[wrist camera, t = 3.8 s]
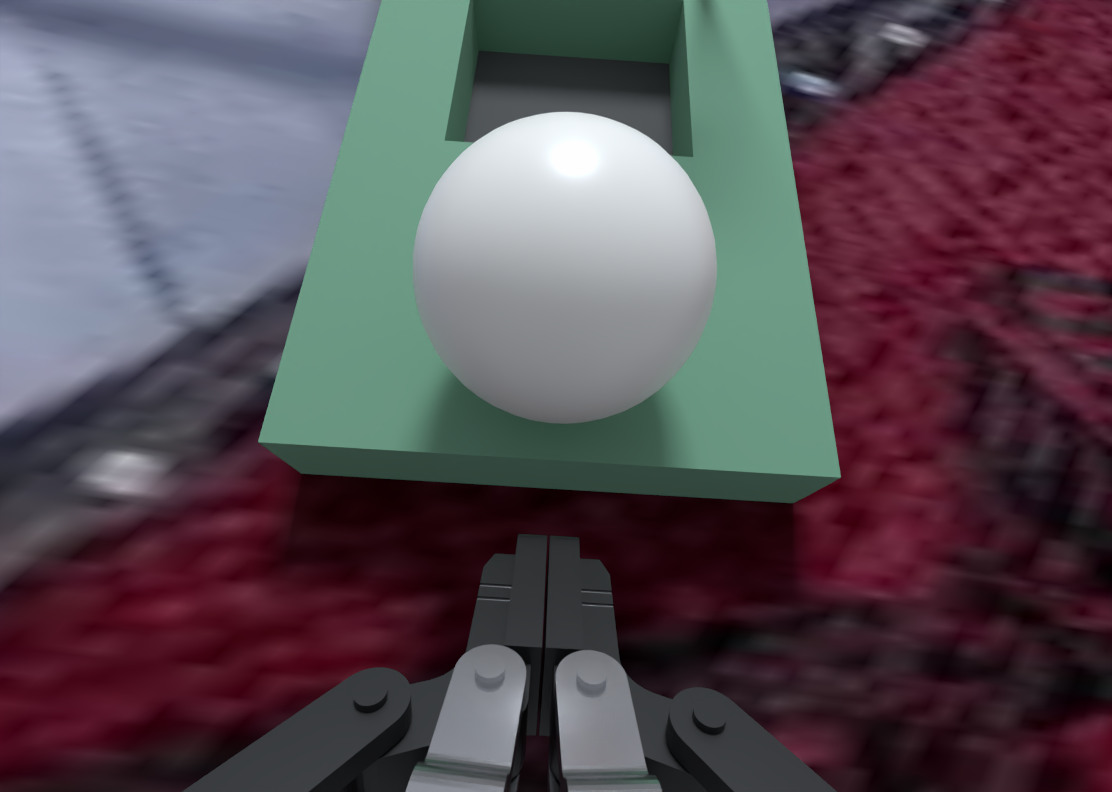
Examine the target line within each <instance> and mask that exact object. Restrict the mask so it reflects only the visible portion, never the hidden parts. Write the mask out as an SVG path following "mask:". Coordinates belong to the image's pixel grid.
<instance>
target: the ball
mask: <svg viewBox="0 0 1112 792" xmlns="http://www.w3.org/2000/svg"><path fill="white" fill-rule="evenodd" d="M716 279H717V257H716V247H715V238H714V234H713V230H712V227H711V223H710V220H709V216H708V213H707V210H706V208H705V205H704V203H703V201H702V198H701V196H700V195H699V193H698V191H697V190H696V188H695V186H694V185H693V183H692V181H691V180H690V178H689V176H688V175H687V173H686V172H685V171H684V170H683V169H682V167H681V166H680V165H679V164H678V162H677V161H675V160H674V159H673V158H672V157H671V156H670V155H669V154H668V153H667V152H666V151H665V150H664V149H663V148H662V147H661V146H660V145H658V144H657V143H656V142H655V141H653V140H652V139H651V138H649V137H648V136H646V135H644V134H643V133H641V132H639V131H638V130H636V129H634V128H631V127H629V126H627V125H625V124H623V123H620V122H617V121H615V120H612V119H609V118H606V117H602V116H598V115H594V114H587V113H580V112H551V113H544V114H538V115H533V116H529V117H525V118H521V119H518V120H515V121H512V122H510V123H507V124H505V125H503V126H501V127H498V128H496V129H494V130H493V131H491V132H490V133H488V134H486V135H485V136H483V137H482V138H480V139H479V140H477V141H476V142H474V143H473V144H472V145H471V146H469V147H468V148H467V149H466V150H465V151H463V152H462V153H461V154H460V155H459V156H458V157H457V159H456V160H455V161H454V162H453V163H452V164H451V165H450V166H449V168H448V169H447V170H446V171H445V172H444V174H443V175H442V177H441V178H440V179H439V181H438V182H437V184H436V185H435V187H434V189H433V191H432V193H431V195H430V197H429V199H428V201H427V203H426V205H425V207H424V209H423V212H422V215H421V218H420V221H419V224H418V229H417V233H416V237H415V243H414V250H413V287H414V293H415V299H416V304H417V308H418V312H419V315H420V318H421V321H422V324H423V327H424V329H425V331H426V333H427V335H428V337H429V339H430V341H431V343H432V345H433V347H434V349H435V351H436V353H437V354H438V355H439V357H440V358H441V360H442V361H443V362H444V364H445V365H446V367H447V368H448V369H449V370H450V371H451V372H452V373H453V374H454V375H455V376H456V377H457V378H458V379H459V381H460V382H461V383H462V384H463V385H464V386H465V387H467V388H468V389H469V390H471V391H472V392H473V393H474V394H476V395H477V396H478V397H480V398H481V399H483V400H485V401H486V402H488V403H490V404H491V405H493V406H495V407H497V408H499V409H502V410H504V411H506V412H508V413H511V414H513V415H516V416H519V417H522V418H526V419H529V420H533V421H540V422H546V423H559V424H571V423H583V422H589V421H594V420H598V419H603V418H606V417H609V416H612V415H615V414H618V413H621V412H624V411H626V410H628V409H630V408H632V407H634V406H636V405H638V404H640V403H641V402H643V401H644V400H646V399H647V398H648V397H650V396H651V395H653V394H654V393H656V392H657V391H658V390H659V389H661V388H662V387H663V386H664V385H665V384H666V383H667V382H668V381H669V380H671V379H672V378H673V377H674V376H675V375H676V373H677V372H678V371H679V370H680V368H681V367H682V366H683V365H684V364H685V362H686V361H687V359H688V358H689V357H690V355H691V354H692V352H693V350H694V349H695V347H696V345H697V344H698V342H699V340H700V338H701V336H702V333H703V331H704V328H705V326H706V323H707V321H708V318H709V316H710V313H711V309H712V304H713V300H714V295H715V289H716Z"/></svg>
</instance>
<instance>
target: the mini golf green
mask: <svg viewBox="0 0 1112 792" xmlns="http://www.w3.org/2000/svg"><path fill="white" fill-rule="evenodd" d="M551 112H580V113H587V114H594V115H598V116H602V117H606V118H609V119H612V120H615V121H617V122H620V123H623V124H625V125H627V126H629V127H631V128H634V129H636V130H638V131H639V132H641V133H643V134H644V135H646V136H648V137H649V138H651V139H652V140H653V141H655V142H656V143H657V144H658V145H660V146H661V147H662V148H663V149H664V150H665V151H666V152H667V153H668V154H669V155H670V156H671V157H672V158H673V159H674V160H675V161H677V162H678V164H679V165H680V166H681V167H682V169H683V170H684V171H685V172H686V173H687V175H688V176H689V178H690V180H691V181H692V183H693V185H694V186H695V188H696V190H697V191H698V193H699V195H700V196H701V198H702V201H703V203H704V205H705V208H706V210H707V213H708V216H709V220H710V223H711V227H712V230H713V234H714V238H715V247H716V257H717V279H716V289H715V295H714V300H713V304H712V309H711V313H710V316H709V318H708V321H707V323H706V326H705V328H704V331H703V333H702V336H701V338H700V340H699V342H698V344H697V345H696V347H695V349H694V350H693V352H692V354H691V355H690V357H689V358H688V359H687V361H686V362H685V364H684V365H683V366H682V367H681V368H680V370H679V371H678V372H677V373H676V375H675V376H674V377H673V378H672V379H671V380H669V381H668V382H667V383H666V384H665V385H664V386H663V387H662V388H661V389H659V390H658V391H657V392H656V393H654V394H653V395H651V396H650V397H648V398H647V399H646V400H644V401H643V402H641V403H640V404H638V405H636V406H634V407H632V408H630V409H628V410H626V411H624V412H621V413H618V414H615V415H612V416H609V417H606V418H603V419H598V420H594V421H589V422H583V423H571V424H559V423H546V422H540V421H533V420H529V419H526V418H522V417H519V416H516V415H513V414H511V413H508V412H506V411H504V410H502V409H499V408H497V407H495V406H493V405H491V404H490V403H488V402H486V401H485V400H483V399H481V398H480V397H478V396H477V395H476V394H474V393H473V392H472V391H471V390H469V389H468V388H467V387H465V386H464V385H463V384H462V383H461V382H460V381H459V379H458V378H457V377H456V376H455V375H454V374H453V373H452V372H451V371H450V370H449V369H448V368H447V367H446V365H445V364H444V362H443V361H442V360H441V358H440V357H439V355H438V354H437V353H436V351H435V349H434V347H433V345H432V343H431V341H430V339H429V337H428V335H427V333H426V331H425V329H424V327H423V324H422V321H421V318H420V315H419V312H418V308H417V304H416V299H415V293H414V287H413V250H414V243H415V237H416V233H417V229H418V224H419V221H420V218H421V215H422V212H423V209H424V207H425V205H426V203H427V201H428V199H429V197H430V195H431V193H432V191H433V189H434V187H435V185H436V184H437V182H438V181H439V179H440V178H441V177H442V175H443V174H444V172H445V171H446V170H447V169H448V168H449V166H450V165H451V164H452V163H453V162H454V161H455V160H456V159H457V157H458V156H459V155H460V154H461V153H462V152H463V151H465V150H466V149H467V148H468V147H469V146H471V145H472V144H473V143H474V142H476V141H477V140H479V139H480V138H482V137H483V136H485V135H486V134H488V133H490V132H491V131H493V130H494V129H496V128H498V127H501V126H503V125H505V124H507V123H510V122H512V121H515V120H518V119H521V118H525V117H529V116H533V115H538V114H544V113H551ZM258 443H260V444H261V445H263V446H264V447H265V448H267V449H268V450H269V451H271V452H272V453H274V454H275V455H276V456H278V457H279V458H280V459H282V460H283V461H285V462H286V463H287V464H289V465H290V466H291V467H293V468H294V469H296V470H297V471H298V472H300V473H301V474H316V475H333V476H349V477H366V478H382V479H399V480H415V481H432V482H449V483H465V484H482V485H498V486H515V487H531V488H548V489H565V490H581V491H598V492H614V493H631V494H647V495H664V496H681V497H697V498H714V499H730V500H747V501H763V502H780V503H795V502H797V501H799V500H801V499H802V498H804V497H806V496H808V495H810V494H812V493H813V492H815V491H817V490H819V489H821V488H823V487H825V486H826V485H828V484H830V483H832V482H834V481H836V480H837V479H839V478H841V475H840V469H839V462H838V456H837V449H836V443H835V436H834V430H833V424H832V417H831V411H830V404H829V398H828V391H827V385H826V378H825V372H824V365H823V359H822V353H821V346H820V340H819V333H818V327H817V320H816V314H815V307H814V301H813V295H812V288H811V282H810V275H809V269H808V262H807V256H806V249H805V243H804V236H803V230H802V224H801V217H800V211H799V204H798V198H797V191H796V185H795V178H794V172H793V165H792V159H791V153H790V146H789V140H788V133H787V127H786V120H785V114H784V107H783V101H782V94H781V88H780V82H779V75H778V69H777V62H776V56H775V49H774V43H773V36H772V30H771V24H770V17H769V11H768V4H767V0H382V1H381V5H380V8H379V12H378V15H377V19H376V23H375V26H374V30H373V33H372V37H371V40H370V44H369V48H368V51H367V55H366V58H365V62H364V65H363V69H362V73H361V76H360V80H359V83H358V87H357V90H356V94H355V98H354V101H353V105H352V108H351V112H350V115H349V119H348V123H347V126H346V130H345V133H344V137H343V140H342V144H341V148H340V151H339V155H338V158H337V162H336V165H335V169H334V173H333V176H332V180H331V183H330V187H329V190H328V194H327V198H326V201H325V205H324V208H323V212H322V215H321V219H320V223H319V226H318V230H317V233H316V237H315V240H314V244H313V248H312V251H311V255H310V258H309V262H308V265H307V269H306V273H305V276H304V280H303V283H302V287H301V290H300V294H299V298H298V301H297V305H296V308H295V312H294V315H293V319H292V323H291V326H290V330H289V333H288V337H287V340H286V344H285V348H284V351H283V355H282V358H281V362H280V365H279V369H278V373H277V376H276V380H275V383H274V387H273V390H272V394H271V398H270V401H269V405H268V408H267V412H266V415H265V419H264V423H263V426H262V430H261V433H260V437H259V440H258Z"/></svg>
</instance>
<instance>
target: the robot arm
mask: <svg viewBox="0 0 1112 792" xmlns="http://www.w3.org/2000/svg"><path fill="white" fill-rule="evenodd" d="M546 553H547V535H531V534H518V539H517V547H516V554H515V555H512V554H494V555H493V556H492V558H491V559H490V560H489V561H488V562H487V563H486V565H485V566H484V567H483V572H482V577H481V582H480V587H479V591H478V597H477V601H476V606H475V611H474V616H473V620H472V625H471V630H470V635H469V640H468V645H467V649H466V652H465V654H464V655H463V656H462V657H461V658H460V659H459V660H458V662H457V663H456V666H455V668H453V669H452V670H451V671H449V672H448V673H446V674H444V675H442V676H440V677H438V678H435V679H431V680H427V681H423V682H419V683H414V684H410V685H409V682H408V681H407V679H406V678H405V677H404V676H403V675H402V674H401V673H399V672H398V671H395V670H393V669H389V668H382V667H379V668H370V669H366V670H363V671H360V672H358V673H356V674H354V675H352V676H350V677H349V678H347V679H346V680H344V681H343V682H341V683H340V684H339V685H337V686H336V687H334V688H333V689H331V690H330V691H328V692H327V693H325V694H324V695H322V696H321V697H320V698H318V699H317V700H315V701H314V702H312V703H311V704H309V705H308V706H306V707H305V708H304V709H302V710H301V711H299V712H298V713H296V714H295V715H293V716H292V717H290V718H289V719H287V720H286V721H285V722H283V723H282V724H280V725H279V726H277V727H276V728H274V729H273V730H271V731H270V732H269V733H267V734H266V735H264V736H263V737H261V738H260V739H258V740H257V741H255V742H254V743H252V744H251V745H250V746H248V747H247V748H245V749H244V750H242V751H241V752H239V753H238V754H236V755H235V756H234V757H232V758H231V759H229V760H228V761H226V762H225V763H223V764H222V765H220V766H219V767H217V768H216V769H215V770H213V771H212V772H210V773H209V774H207V775H206V776H204V777H203V778H201V779H200V780H199V781H197V782H196V783H194V784H193V785H191V786H190V787H188V788H187V789H185V790H184V791H182V792H518V788H519V782H520V773H521V768H522V766H523V763H524V758H525V748H526V735H535V736H536V726H537V712H538V698H539V683H540V669H541V655H542V637H543V616H544V595H545V574H546ZM539 736H549V760H548V772H547V784H548V792H837V791H836V790H834V789H833V788H832V787H831V786H830V785H829V784H828V783H826V782H825V781H824V780H823V779H822V778H821V777H819V776H818V775H817V774H816V773H815V772H814V771H812V770H811V769H810V768H809V767H808V766H807V765H806V764H804V763H803V762H802V761H801V760H800V759H799V758H797V757H796V756H795V755H794V754H793V753H792V752H790V751H789V750H788V749H787V748H786V747H785V746H784V745H782V744H781V743H780V742H779V741H778V740H777V739H775V738H774V737H773V736H772V735H771V734H770V733H768V732H767V731H766V730H765V729H764V728H763V727H762V726H760V725H759V724H758V723H757V722H756V721H755V720H753V719H752V718H751V717H750V716H749V715H748V714H746V713H745V712H744V711H743V710H742V709H741V708H740V707H738V706H737V705H736V704H735V703H734V702H733V701H731V700H730V699H729V698H727V697H726V696H724V695H723V694H721V693H719V692H716V691H714V690H711V689H708V688H701V687H694V688H688V689H685V690H683V691H681V692H679V693H678V694H677V695H676V696H675V697H674V698H673V700H672V699H669V698H666V697H664V696H661V695H658V694H655V693H652V692H650V691H648V690H646V689H644V688H642V687H640V686H639V685H638V684H636V683H635V682H634V681H633V680H632V679H631V678H630V677H629V676H628V675H627V674H626V672H625V671H624V669H623V667H622V665H621V662H620V658H619V651H618V642H617V633H616V624H615V616H614V607H613V598H612V589H611V581H610V574H609V573H608V571H607V570H606V568H605V567H604V565H603V564H602V563H601V561H600V560H596V559H580V547H579V537H565V536H550V539H549V553H548V568H547V582H546V597H545V616H544V638H543V661H542V683H541V705H540V728H539Z"/></svg>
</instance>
